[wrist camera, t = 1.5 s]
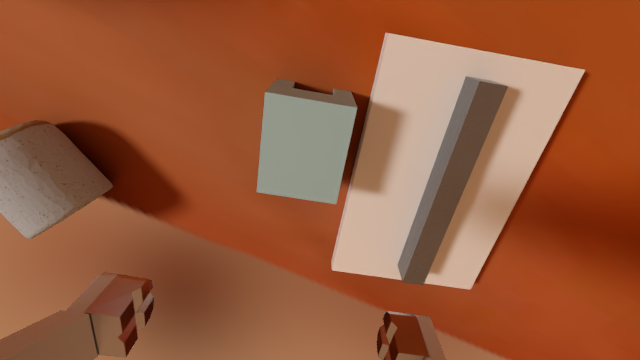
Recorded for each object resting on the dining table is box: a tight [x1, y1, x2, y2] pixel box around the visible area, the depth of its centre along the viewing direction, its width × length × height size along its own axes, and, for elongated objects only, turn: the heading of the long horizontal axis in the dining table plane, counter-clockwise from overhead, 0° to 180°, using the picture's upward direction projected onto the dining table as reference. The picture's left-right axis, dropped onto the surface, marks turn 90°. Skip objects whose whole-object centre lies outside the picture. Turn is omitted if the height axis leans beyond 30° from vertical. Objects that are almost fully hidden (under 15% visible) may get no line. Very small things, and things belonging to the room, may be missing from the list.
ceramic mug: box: [0, 120, 113, 239], centre depth 28 cm, size 11×8×8 cm
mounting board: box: [332, 33, 585, 289], centre depth 30 cm, size 24×16×2 cm, turn 171°
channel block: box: [257, 79, 357, 204], centre depth 26 cm, size 8×6×6 cm
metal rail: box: [398, 76, 508, 285], centre depth 28 cm, size 20×2×2 cm, turn 171°
